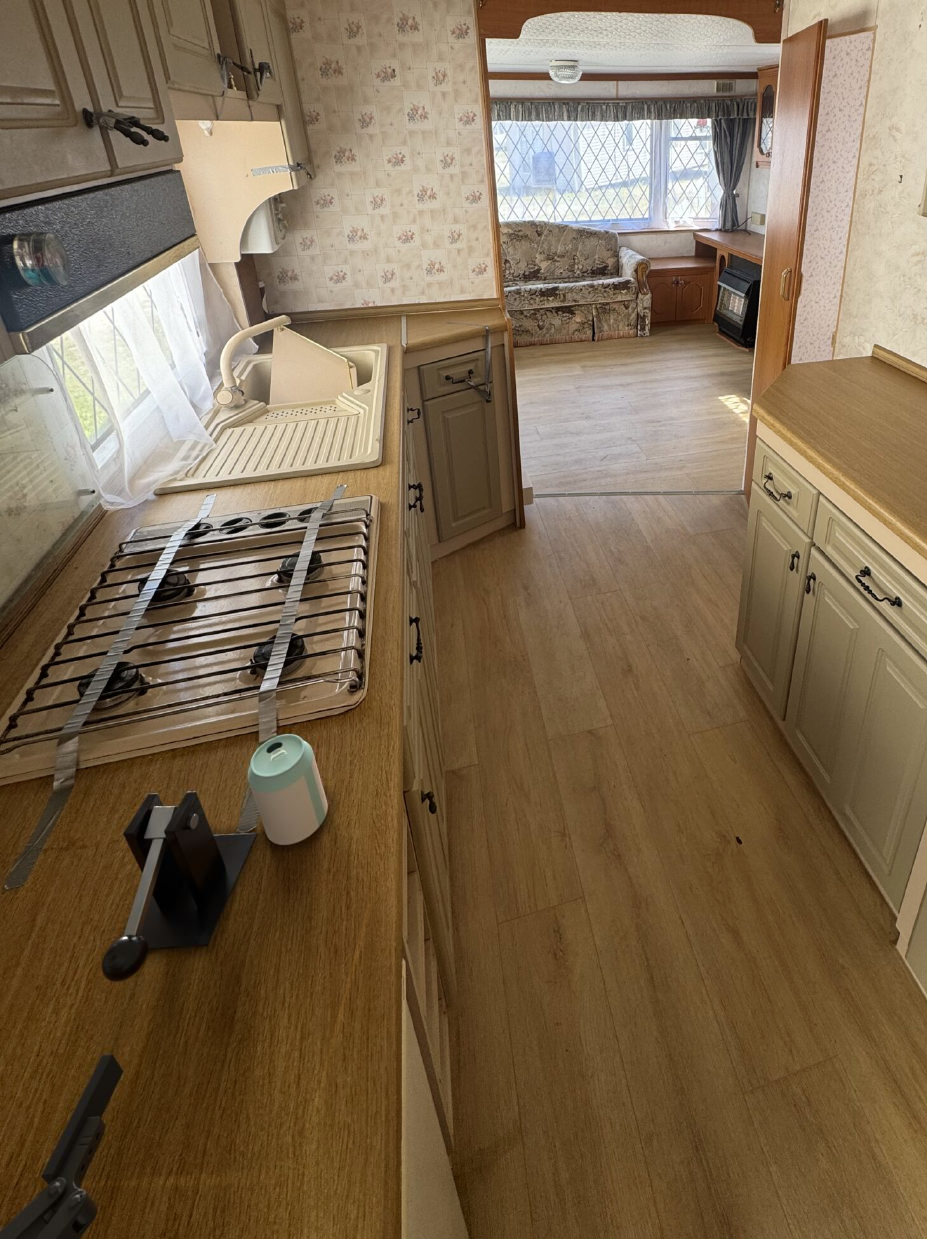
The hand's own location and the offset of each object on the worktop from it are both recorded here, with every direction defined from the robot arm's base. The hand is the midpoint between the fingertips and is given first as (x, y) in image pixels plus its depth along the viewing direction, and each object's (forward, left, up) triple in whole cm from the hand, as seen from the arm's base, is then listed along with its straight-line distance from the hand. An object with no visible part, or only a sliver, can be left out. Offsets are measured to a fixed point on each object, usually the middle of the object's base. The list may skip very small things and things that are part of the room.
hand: (23, 1067), depth 51 cm
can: (0, +29, -12) cm, 31 cm away
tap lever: (-5, +15, -4) cm, 16 cm away
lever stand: (-6, +19, -12) cm, 23 cm away
